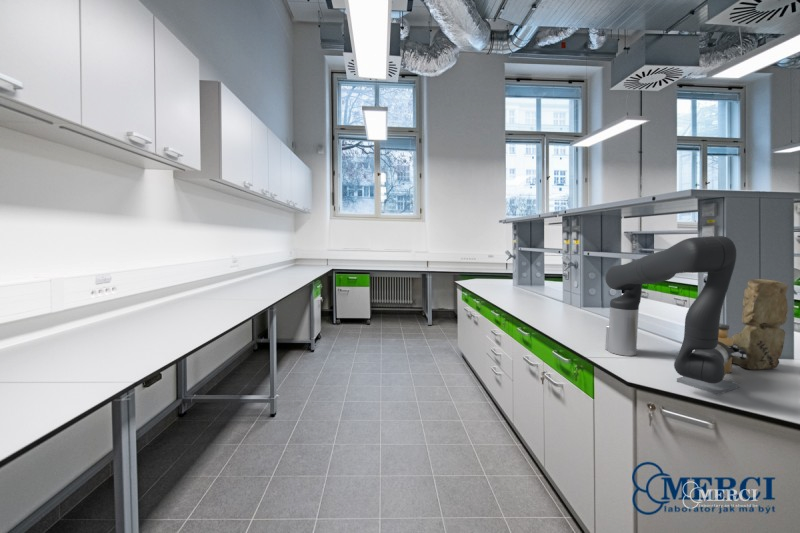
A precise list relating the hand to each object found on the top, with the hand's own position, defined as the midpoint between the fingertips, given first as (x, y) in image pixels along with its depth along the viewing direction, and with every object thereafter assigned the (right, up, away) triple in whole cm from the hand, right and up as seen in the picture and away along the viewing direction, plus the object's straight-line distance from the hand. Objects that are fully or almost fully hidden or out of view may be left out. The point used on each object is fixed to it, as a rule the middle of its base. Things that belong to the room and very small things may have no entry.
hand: (722, 344), depth 117 cm
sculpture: (+12, -8, +2) cm, 15 cm away
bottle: (-2, -8, -1) cm, 8 cm away
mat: (-16, -9, -13) cm, 23 cm away
